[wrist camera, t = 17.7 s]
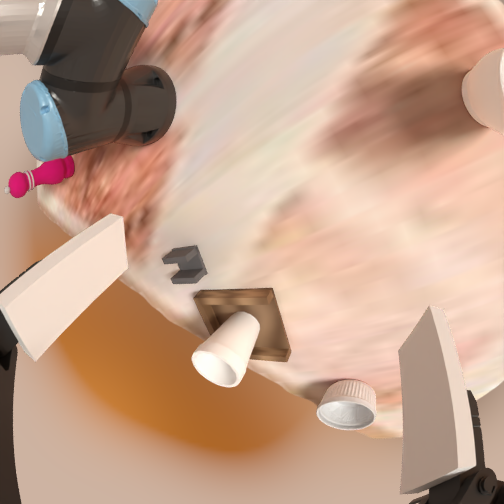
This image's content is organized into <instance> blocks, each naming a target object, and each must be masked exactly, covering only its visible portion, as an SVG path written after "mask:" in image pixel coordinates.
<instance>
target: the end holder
mask: <svg viewBox="0 0 504 504" xmlns="http://www.w3.org/2000/svg"><path fill="white" fill-rule="evenodd" d="M193 299H194V301H195V303H196V305H197V308H198V310H199V312H200V314H201V316H202V318H203V321H204V323H205V325H206V327H207V329H208V331H209V333H210V335H212V334H213V333H214V332H215V331H216V330H217V329H218V328H219V327H220V326H221V325H222V324H223V323H224V322H225V321H227V320H228V319H229V318H230V317H231V316H232V315H233V314H234V313H236V312H246V313H248V314H251V315H252V316H253V317H254V318H256V319H257V321H258V323H259V324H260V330H259V334H258V337H257V339H256V342H255V345H254V348H253V350H252V353H251V356H250V359H254V360H265V361H277V362H287V361H288V359H289V357H290V354H291V349H290V345H289V342H288V338H287V335H286V332H285V328H284V325H283V321H282V318H281V315H280V311H279V308H278V305H277V301H276V298H275V295H274V291H273V288H259V289H227V290H201V291H200V292H199V293H198V294H197V295H196V296H195V297H194V298H193Z"/></svg>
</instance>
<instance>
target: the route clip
mask: <svg viewBox="0 0 504 504" xmlns="http://www.w3.org/2000/svg"><path fill="white" fill-rule="evenodd" d="M162 260H163V262H164V264H174V263H178V266H179V268H180V271H179V272H178V273H177V274H176V275H174V276H173V277H172V278H171V280H172V283H173V284H192V283H197V282H198V281H199V280H200V279H201V278H202V277H203V276H204V275H206V274H207V271H206V268H205V265H204V263H203V260H202V258H201V255H200V253H199V250H198V247H197V245H196V246H189V247H182V248H174V249H173V250H172V252H170V253H169V254H168V255H166V256H165V257H164V258H162Z"/></svg>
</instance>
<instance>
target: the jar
mask: <svg viewBox="0 0 504 504" xmlns="http://www.w3.org/2000/svg"><path fill="white" fill-rule="evenodd" d="M462 97H463V101H464V104H465V106H466V108H467V110H468V112H469V113H470V115H471V116H472V117H473V118H474V119H475V120H476V121H477V122H479V123H480V124H482V125H484V126H486V127H489V128H491V129H492V130H494V131H496V132H498V133H499V134H501V135H502V136H504V48H500V49H496V50H494V51H491V52H489V53H488V54H486V55H485V56H483V57H482V58H481V59H480V60H479V61H478V63H477V64H476V65H475V66H474V68H473V69H472V70H470V71H469V72H468V73H467V74H466V75H465V77H464V79H463V82H462Z"/></svg>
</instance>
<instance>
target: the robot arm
mask: <svg viewBox="0 0 504 504" xmlns="http://www.w3.org/2000/svg"><path fill="white" fill-rule="evenodd" d="M157 4H158V0H0V55H11V54H23V55H25V56H26V57H27V59H28V60H29V61H30V63H31V64H32V65H44V66H43V69H42V73H41V77H40V80H34V81H32V82H31V83H29V84H28V85H27V86H26V87H25V89H24V91H23V94H22V97H21V103H20V119H21V128H22V132H23V136H24V139H25V142H26V145H27V147H28V149H29V151H30V152H31V154H32V155H33V156H34V157H35V158H36V159H37V160H39V161H43V162H47V161H51V160H55V159H59V158H62V159H63V158H65V157H67V156H70V155H73V154H76V153H79V152H82V151H85V150H89V149H92V148H95V147H99V146H102V145H106V144H109V143H113V142H114V143H120V144H126V145H131V146H142V145H146V144H150V143H153V142H155V141H157V140H159V139H160V138H161V137H162V136H163V135H164V134H165V133H166V132H167V130H168V129H169V127H170V125H171V123H172V121H173V118H174V114H175V109H176V93H175V88H174V85H173V82H172V80H171V79H170V77H169V76H168V74H167V73H166V72H165V71H164V70H162V69H161V68H159V67H156V66H150V65H139V66H134V67H131V68H129V69H126V70H125V68H126V66H127V63H128V61H129V59H130V57H131V55H132V53H133V51H134V49H135V47H136V45H137V43H138V41H139V39H140V37H141V35H142V34H143V32H144V30H145V28H147V27H148V22H149V20H150V18H151V16H152V14H153V12H154V10H155V8H156V7H157ZM127 269H128V262H127V253H126V244H125V234H124V222H123V217H122V216H118V215H115V214H111V213H110V214H109V215H107V216H106V217H104V218H102V219H101V220H99V221H98V222H96V223H95V224H93V225H92V226H90V227H89V228H87V229H85V230H84V231H82V232H81V233H80V234H78V235H77V236H75V237H74V238H72V239H71V240H70V241H68V242H66V243H65V244H64V245H62V246H61V247H59V248H58V249H57V250H55V251H54V252H53V253H51V254H50V255H48V256H47V257H46V258H44V259H43V260H40V261H38V262H36V263H34V264H33V265H32V266H30V267H29V268H28V269H27V270H26V272H23V273H22V274H20V275H19V277H17V278H15V279H14V280H13V281H11V282H10V283H9V284H8V285H7V286H5V287H4V288H3V289H2V290H1V291H0V504H21V499H20V494H19V488H18V482H17V476H16V468H15V458H14V445H13V393H14V379H15V369H16V361H17V353H18V352H17V347H16V344H17V343H18V342H19V344H20V345H21V347H22V348H23V350H24V352H25V353H26V354H27V355H29V356H30V357H31V358H32V359H33V360H34V361H37V360H38V358H39V357H40V356H41V355H42V354H43V353H44V352H45V351H46V349H47V348H48V347H49V346H50V345H51V344H52V343H53V342H54V341H55V340H56V339H57V338H58V337H59V336H60V334H61V333H62V332H63V331H64V330H65V329H66V328H67V327H68V326H69V325H70V324H71V323H72V322H73V321H74V320H75V319H76V318H77V317H78V316H79V315H80V314H81V313H82V312H83V311H84V310H85V309H86V308H87V307H88V306H89V305H90V304H91V303H92V302H93V301H94V300H95V299H96V298H97V297H98V296H99V295H100V294H101V293H102V292H103V291H104V290H105V289H106V288H107V287H108V286H109V285H111V283H112V282H114V281H115V280H116V279H117V278H118V277H119V276H120V275H121V274H122V273H123V272H124V271H126V270H127ZM398 352H399V362H400V373H401V386H402V406H403V455H402V474H401V486H400V494H412V493H419V492H422V491H424V490H427V489H429V494H427V495H425V496H422V497H419V498H417V499H414V500H413V501H411V502H410V503H409V504H416V503H419V504H504V482H503V481H499V480H497V479H496V475H495V473H494V472H493V470H491V469H490V468H485V462H484V450H483V440H482V432H481V428H480V419H479V418H478V416H479V413H478V407H477V402H476V400H475V398H474V396H473V394H472V392H471V391H470V390H466V386H465V381H464V377H463V372H462V368H461V364H460V360H459V357H458V353H457V349H456V346H455V342H454V339H453V336H452V333H451V329H450V326H449V323H448V320H447V317H446V314H445V311H444V309H441V308H438V307H434V306H431V305H429V307H428V308H427V310H426V311H425V313H424V314H423V316H422V318H421V319H420V321H419V322H418V324H417V325H416V327H415V328H414V329H413V331H412V332H411V334H410V335H409V337H408V338H407V339H406V341H405V342H404V344H403V345H402V346H401V348H400V349H399V350H398Z"/></svg>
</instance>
